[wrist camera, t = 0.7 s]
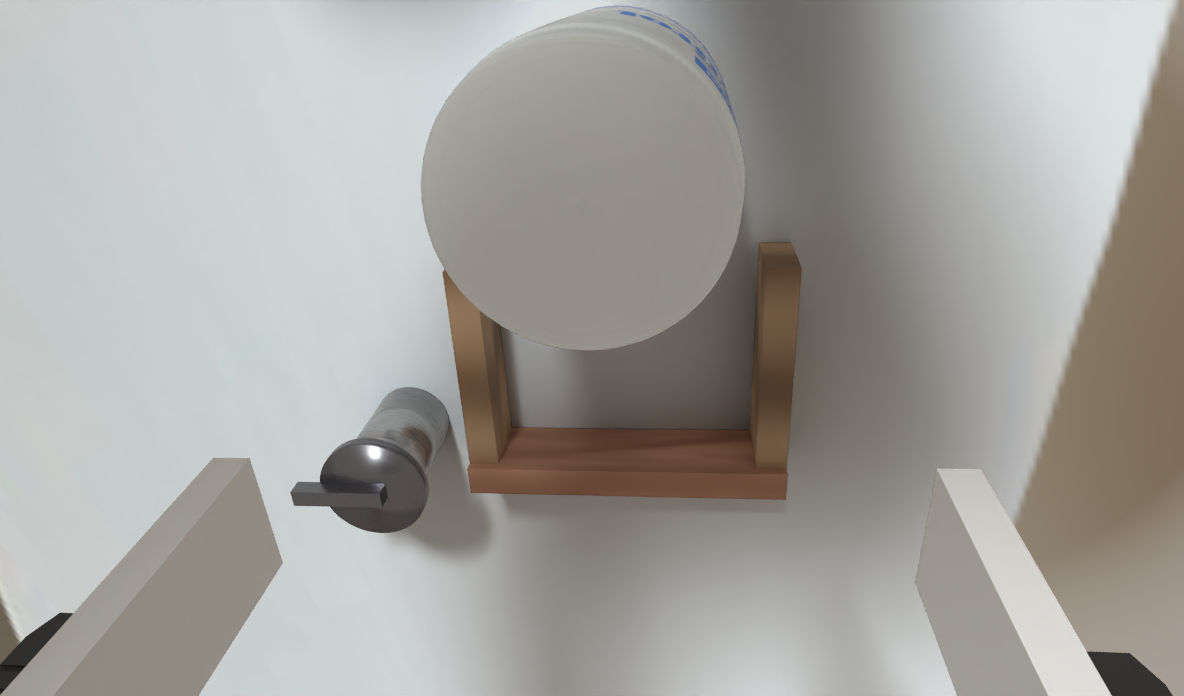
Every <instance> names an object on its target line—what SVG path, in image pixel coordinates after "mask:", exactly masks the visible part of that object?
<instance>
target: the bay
mask: <svg viewBox="0 0 1184 696" xmlns="http://www.w3.org/2000/svg"><path fill="white" fill-rule="evenodd" d="M801 269H802V268H801V266H800V263H799V261H798V258H797V256H796V253H795V251H794V249H793V246H792V244H791V242H785V243H759V248H758V269H757V289H756V310H755V330H754V351H753V372H752V392H751V413H750V430H685V429H600V428H515V427H511V418H510V409H509V400H508V391H507V382H506V373H505V364H504V355H503V346H502V337H501V328H500V325H499V324H498V323H496V322H495V321H494V320H492V319H491V318H489V317H488V316H486V315H485V314H484V313H482V312H481V311H480V310H479V309H478V308H477V307H476V306H475V305H474V304H472V303H471V302H470V301H469V300H468V299H467V298H466V297H465V295H464V294H463V293H462V292H461V291H460V290H459V289H458V287H457V286H456V285H455V283H454V282H453V281H452V279H451V278H450V276H449V275H448V273H447V272H446V270H444V271H443V278H444V285H445V292H446V299H447V306H448V313H449V320H450V327H451V334H452V341H453V348H454V355H455V362H456V369H457V376H458V383H459V390H460V397H461V404H462V411H463V418H464V425H465V432H466V439H467V446H468V453H469V460H470V464H469V467H468V475H469V482H470V489H471V493H500V494H547V495H593V496H640V497H686V498H733V499H779V500H786V491H787V478H788V474H787V469H786V468H787V455H788V442H789V428H790V415H791V402H792V389H793V375H794V362H795V349H796V336H797V322H798V309H799V296H800V283H801Z"/></svg>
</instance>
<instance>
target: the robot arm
mask: <svg viewBox="0 0 1184 696" xmlns="http://www.w3.org/2000/svg"><path fill="white" fill-rule="evenodd" d="M282 563H283V562H282V559H281V556H280V553H279V550H278V546H277V543H276V540H275V537H274V534H273V531H272V528H271V524H270V521H269V518H268V515H267V512H266V509H265V506H264V502H263V499H262V496H261V493H260V490H259V487H258V483H257V480H256V477H255V474H254V471H253V468H252V465H251V461H250V458H213V459H212V460H211V461H210V462H209V463H208V465H207V466H206V467H205V468H204V469H203V470H202V471H201V472H200V473H199V475H198V476H197V477H196V478H195V479H194V480H193V481H192V482H191V483H190V485H189V486H188V487H187V488H186V489H185V490H184V491H183V492H182V493H181V495H180V496H179V497H178V498H177V499H176V500H175V501H174V502H173V503H172V505H171V506H170V507H169V508H168V509H167V510H166V511H165V512H164V513H163V515H162V516H161V517H160V518H159V519H158V520H157V521H156V522H155V523H154V525H153V526H152V527H151V528H150V529H149V530H148V531H147V532H146V533H145V535H144V536H143V537H142V538H141V539H140V540H139V541H138V542H137V543H136V545H135V546H134V547H133V548H132V549H131V550H130V551H129V552H128V553H127V555H126V556H125V557H124V558H123V559H122V560H121V561H120V562H119V563H118V565H117V566H116V567H115V568H114V569H113V570H112V571H111V572H110V573H109V575H108V576H107V577H106V578H105V579H104V580H103V581H102V582H101V583H100V585H99V586H98V587H97V588H96V589H95V590H94V591H93V592H92V593H91V595H90V596H89V597H88V598H87V599H86V600H85V601H84V602H83V603H82V605H81V606H80V607H79V608H78V609H77V610H76V611H75V612H74V613H59V614H58V615H56V616H55V617H54V618H52V619H51V620H49V621H48V622H46V623H45V624H44V625H42V626H41V627H39V628H38V629H36V630H35V631H34V632H32V633H31V634H29V635H28V636H26V637H25V638H24V640H23V641H22V642H21V643H20V644H19V645H18V646H17V647H16V648H15V649H14V650H13V651H12V652H11V653H10V654H9V656H8V657H7V658H6V659H5V660H4V661H3V662H2V663H1V664H0V696H198V695H199V694H200V692H201V691H202V689H203V687H204V686H205V684H206V683H207V681H208V680H209V678H210V676H211V675H212V673H213V672H214V670H215V669H216V667H217V665H218V664H219V662H220V661H221V659H222V658H223V656H224V654H225V653H226V651H227V650H228V648H229V647H230V645H231V643H232V642H233V640H234V639H235V637H236V636H237V634H238V632H239V631H240V629H241V628H242V626H243V625H244V623H245V621H246V620H247V618H248V617H249V615H250V614H251V612H252V610H253V609H254V607H255V606H256V604H257V603H258V601H259V599H260V598H261V596H262V595H263V593H264V592H265V590H266V588H267V587H268V585H269V584H270V582H271V581H272V579H273V577H274V576H275V574H276V573H277V571H278V570H279V568H280V566H281V565H282ZM915 583H916V586H917V588H918V591H919V594H920V596H921V599H922V602H923V604H924V607H925V610H926V613H927V615H928V618H929V621H930V623H931V626H932V629H933V631H934V634H935V637H936V640H937V642H938V645H939V648H940V650H941V653H942V656H943V658H944V661H945V664H946V667H947V669H948V672H949V675H950V677H951V680H952V683H953V685H954V688H955V691H956V694H957V696H1172V694H1171V693H1170V691H1169V690H1168V688H1167V687H1166V685H1165V684H1164V683H1163V682H1162V681H1161V680H1159V679H1158V678H1157V677H1156V676H1155V675H1154V674H1153V673H1152V672H1150V671H1149V670H1148V669H1147V668H1146V667H1145V666H1144V665H1142V664H1141V663H1140V662H1139V661H1138V660H1137V659H1136V658H1134V657H1133V656H1132V655H1131V654H1130V653H1110V652H1086V650H1085V648H1084V647H1083V645H1082V643H1081V641H1080V640H1079V638H1078V636H1077V635H1076V633H1075V631H1074V629H1073V628H1072V626H1071V624H1070V623H1069V621H1068V619H1067V617H1066V615H1065V614H1064V612H1063V610H1062V609H1061V607H1060V605H1059V603H1058V601H1057V600H1056V598H1055V596H1054V595H1053V593H1052V591H1051V589H1050V588H1049V586H1048V584H1047V583H1046V581H1045V579H1044V577H1043V576H1042V574H1041V572H1040V570H1039V568H1038V567H1037V565H1036V563H1035V562H1034V560H1033V558H1032V556H1031V555H1030V553H1029V551H1028V549H1027V548H1026V546H1025V544H1024V542H1023V541H1022V539H1021V537H1020V535H1019V534H1018V532H1017V530H1016V528H1015V527H1014V525H1013V523H1012V522H1011V520H1010V518H1009V516H1008V515H1007V513H1006V511H1005V509H1004V508H1003V506H1002V504H1001V502H1000V501H999V499H998V497H997V495H996V494H995V492H994V490H993V488H992V487H991V485H990V483H989V482H988V480H987V478H986V476H985V475H984V473H983V471H982V469H942V468H937V470H936V475H935V480H934V485H933V491H932V496H931V501H930V507H929V512H928V517H927V523H926V528H925V533H924V539H923V544H922V549H921V555H920V560H919V565H918V571H917V576H916V581H915Z"/></svg>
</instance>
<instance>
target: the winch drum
mask: <svg viewBox="0 0 1184 696" xmlns="http://www.w3.org/2000/svg"><path fill="white" fill-rule="evenodd" d="M448 429H449V417H448V414H447V411H446V409H445V407H444V406H443V404H442V403H441V402H440V401H439V400H438V399H437V398H436V397H435V396H433V395H432V394H430V393H428V392H426V391H424V390H421V389H417V388H400V389H397V390H394V391H392V392H391V393H389V394H388V395H387V396H386V397H385V398H384V399H383V401H382V402H381V404H380V405H379V407H378V408H377V410H376V411H375V413H374V414H373V415H372V417H371V418H370V420H369V421H368V423H367V424H366V426H365V427H364V429H363V430H362V432H361V433H360V435H359V436H358V438H357V439H354V440H351V441H348V442H346V443H343V444H342V445H340V446H339V447H337V448H336V449H335V450H334V451H333V452H332V454H331V455H330V456H329V458H328V459H327V460H326V462H325V464H324V465H323V467H322V471H321V475H320V482H298V483H297V484H296V485H295V487H294V488H293V489H292V491H291V496H292V499H293V503H294V506H330V507H331V509H332V510H333V511H334V512H335V513H336V514H337V515H338V516H339V517H341V518H342V519H343V520H345V521H346V522H348V523H349V524H351V525H353V526H355V527H358V528H360V529H363V530H366V531H371V532H377V533H389V532H395V531H399V530H402V529H404V528H407V527H408V526H410V525H411V524H413V523H414V522H415V521H416V520H417V519H418V518H419V516H420V515H421V513H422V511H423V509H424V507H425V505H426V502H427V499H428V495H429V486H428V481H427V477H426V475H427V473H428V471H429V469H430V467H431V465H432V463H433V461H434V459H435V457H436V455H437V453H438V451H439V449H440V447H441V445H442V443H443V441H444V439H445V437H446V435H447V432H448Z"/></svg>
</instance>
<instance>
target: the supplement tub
mask: <svg viewBox="0 0 1184 696" xmlns="http://www.w3.org/2000/svg"><path fill="white" fill-rule="evenodd" d="M421 196H422V206H423V212H424V218H425V223H426V226H427V229H428V233H429V236H430V239H431V242H432V244H433V247H434V249H435V252H436V254H437V256H438V258H439V259H440V261H441V263H442V265H443V267H444V269H445V270H446V272H447V273H448V275H449V276H450V278H451V279H452V281H453V282H454V283H455V285H456V286H457V287H458V289H459V290H460V291H461V292H462V293H463V294H464V295H465V297H466V298H467V299H468V300H469V301H470V302H471V303H472V304H474V305H475V306H476V307H477V308H478V309H479V310H480V311H481V312H482V313H484V314H485V315H486V316H488V317H489V318H491V319H492V320H494V321H495V322H496V323H498V324H499V325H501V326H502V327H504V328H506V329H508V330H509V331H511V332H513V333H515V334H517V335H520V336H522V337H524V338H527V339H529V340H532V341H535V342H538V343H541V344H544V345H548V346H553V347H557V348H563V349H570V350H605V349H613V348H618V347H622V346H626V345H630V344H634V343H638V342H641V341H643V340H646V339H648V338H651V337H653V336H655V335H657V334H659V333H661V332H663V331H665V330H666V329H668V328H669V327H671V326H673V325H674V324H676V323H677V322H679V321H680V320H682V319H683V318H684V317H686V316H687V315H688V314H689V313H690V312H691V311H692V310H694V309H695V308H696V307H697V306H698V305H699V304H700V303H701V302H702V301H703V299H704V298H705V297H706V296H707V295H708V294H709V292H710V291H711V290H712V288H713V287H714V286H715V284H716V283H717V281H718V280H719V278H720V276H721V275H722V273H723V271H724V269H725V268H726V266H727V264H728V261H729V259H730V256H731V254H732V251H733V249H734V246H735V243H736V240H737V237H738V232H739V227H740V223H741V216H742V210H743V204H744V198H745V163H744V156H743V151H742V146H741V141H740V136H739V133H738V129H737V125H736V122H735V118H734V115H733V112H732V108H731V105H730V102H729V98H728V95H727V92H726V89H725V86H724V83H723V80H722V77H721V75H720V72H719V70H718V68H717V66H716V64H715V62H714V60H713V59H712V57H711V55H710V54H709V52H708V51H707V49H706V48H705V47H704V46H703V44H702V43H701V42H700V41H699V40H698V38H697V37H696V36H695V35H693V34H692V33H691V32H690V31H689V30H688V29H686V28H685V27H683V26H682V25H681V24H679V23H677V22H676V21H674V20H672V19H671V18H669V17H667V16H664V15H662V14H659V13H657V12H654V11H651V10H648V9H644V8H639V7H634V6H621V5H613V6H603V7H599V8H594V9H590V10H586V11H583V12H580V13H578V14H575V15H572V16H570V17H567V18H564V19H561V20H558V21H555V22H552V23H550V24H547V25H544V26H541V27H539V28H536V29H534V30H532V31H529V32H527V33H525V34H522V35H520V36H518V37H516V38H514V39H512V40H510V41H508V42H506V43H505V44H503V45H502V46H500V47H499V48H497V49H495V50H494V51H493V52H491V53H490V54H489V55H487V56H486V57H485V58H483V59H482V60H481V61H480V62H479V63H478V64H477V65H476V66H475V67H474V68H473V69H472V70H471V71H470V72H469V73H468V74H467V75H466V77H465V78H464V79H463V80H462V81H461V82H460V83H459V85H458V86H457V87H456V88H455V89H454V90H453V92H452V93H451V95H450V96H449V97H448V99H447V100H446V101H445V103H444V105H443V107H442V109H441V110H440V112H439V114H438V116H437V118H436V120H435V122H434V125H433V127H432V129H431V132H430V135H429V138H428V141H427V144H426V149H425V153H424V158H423V166H422V176H421Z"/></svg>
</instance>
